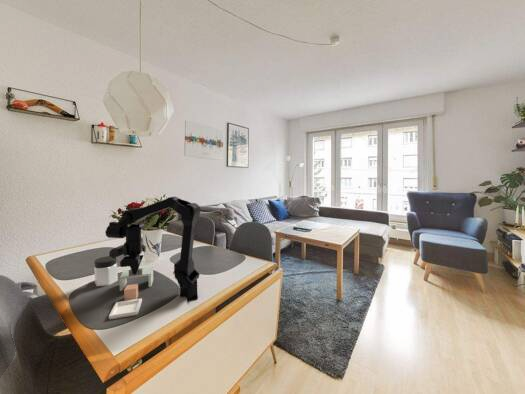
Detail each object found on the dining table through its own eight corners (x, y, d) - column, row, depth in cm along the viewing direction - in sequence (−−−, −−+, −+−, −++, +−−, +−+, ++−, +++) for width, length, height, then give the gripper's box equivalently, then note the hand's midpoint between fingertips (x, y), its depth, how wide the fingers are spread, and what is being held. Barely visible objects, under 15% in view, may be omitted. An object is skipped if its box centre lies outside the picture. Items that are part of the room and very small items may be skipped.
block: (138, 295, 89) (137, 283, 89) (136, 300, 85) (135, 288, 85) (127, 296, 88) (126, 285, 87) (124, 302, 84) (124, 290, 84)
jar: (119, 284, 100) (118, 259, 99) (97, 291, 94) (96, 264, 93) (114, 278, 106) (113, 254, 105) (93, 283, 100) (92, 258, 99)
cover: (153, 279, 103) (152, 262, 102) (151, 286, 96) (150, 268, 95) (124, 283, 99) (123, 265, 98) (119, 290, 92) (119, 271, 91)
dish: (142, 301, 85) (141, 298, 85) (137, 314, 77) (137, 311, 77) (116, 305, 82) (116, 302, 82) (109, 319, 74) (108, 315, 74)
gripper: (117, 234, 97) (119, 267, 98) (103, 247, 80) (104, 287, 81) (145, 232, 101) (146, 265, 102) (137, 244, 83) (138, 283, 85)
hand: (134, 274), depth 92 cm, fingers closed
